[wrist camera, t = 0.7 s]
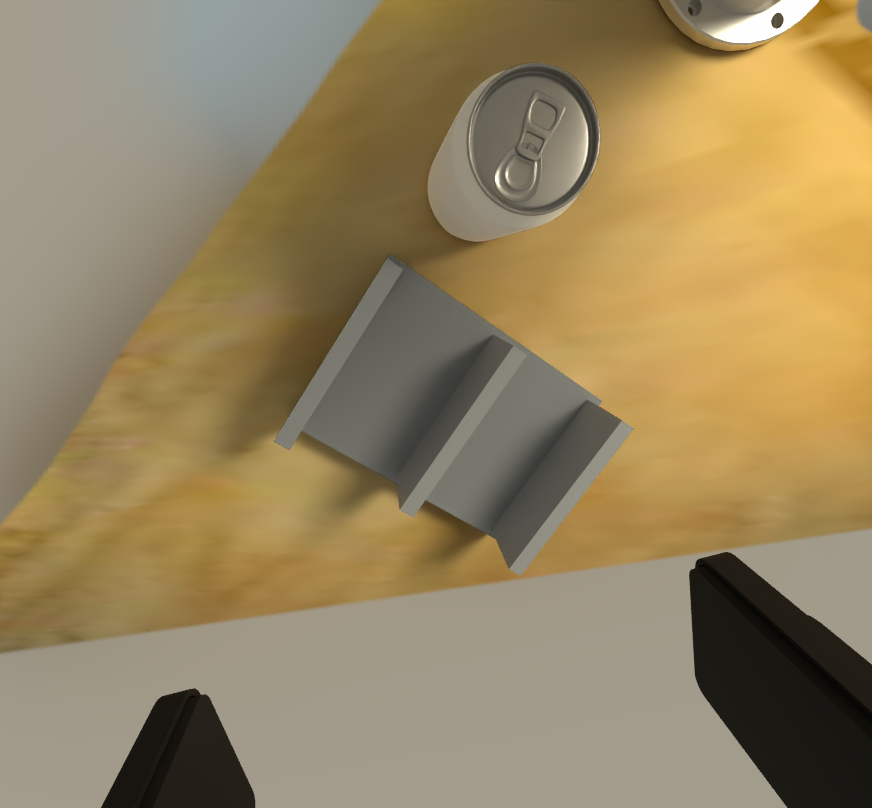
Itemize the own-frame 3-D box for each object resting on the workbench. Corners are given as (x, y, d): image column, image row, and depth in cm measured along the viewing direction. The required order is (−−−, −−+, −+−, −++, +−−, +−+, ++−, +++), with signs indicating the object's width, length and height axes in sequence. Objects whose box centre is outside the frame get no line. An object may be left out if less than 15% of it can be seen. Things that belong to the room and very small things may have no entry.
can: (411, 218, 31) (431, 187, 19) (449, 115, 29) (495, 16, 18) (500, 258, 32) (569, 250, 21) (540, 161, 31) (637, 95, 19)
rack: (389, 254, 31) (392, 250, 25) (592, 395, 36) (638, 422, 29) (289, 415, 33) (269, 448, 27) (493, 530, 38) (516, 581, 31)
